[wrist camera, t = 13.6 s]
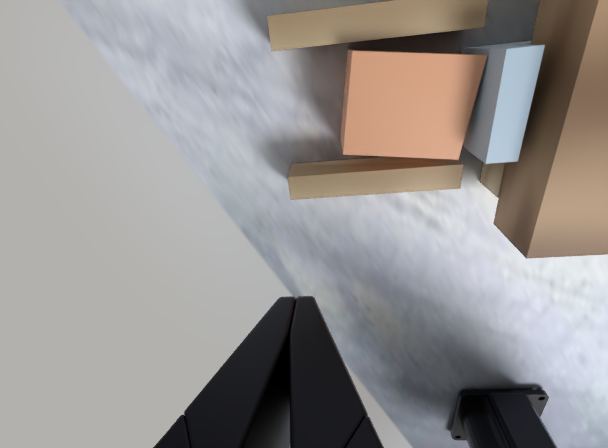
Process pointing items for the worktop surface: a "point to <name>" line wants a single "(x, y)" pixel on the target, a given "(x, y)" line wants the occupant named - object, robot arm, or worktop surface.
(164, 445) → the robot arm
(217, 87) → the worktop surface
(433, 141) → the salmon pink cuboid
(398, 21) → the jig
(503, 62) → the pale blue channel
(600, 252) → the tan wooden block
